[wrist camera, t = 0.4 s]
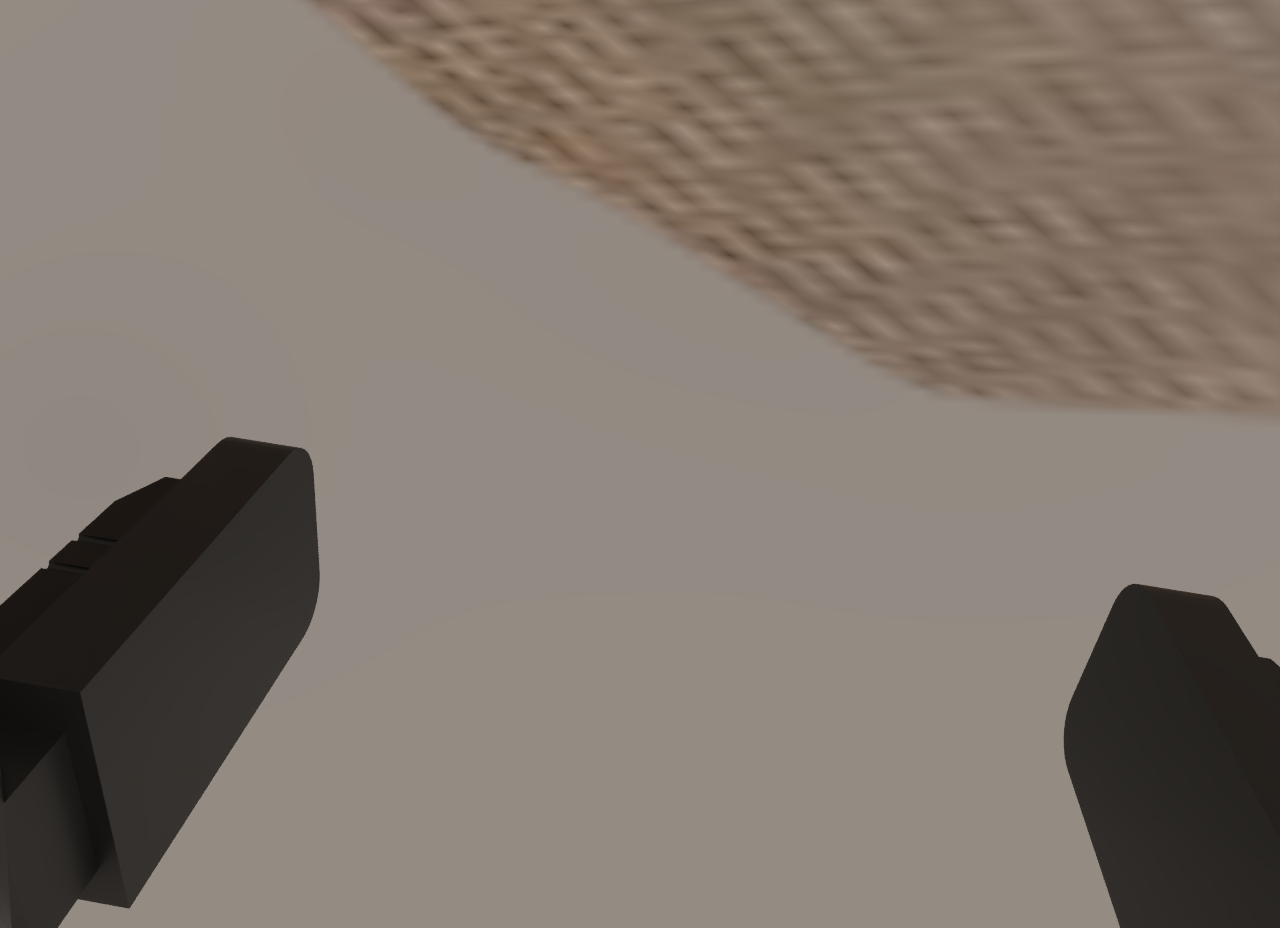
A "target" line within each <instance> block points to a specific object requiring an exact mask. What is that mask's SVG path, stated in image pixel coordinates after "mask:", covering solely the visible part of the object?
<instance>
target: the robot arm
mask: <svg viewBox="0 0 1280 928" xmlns="http://www.w3.org/2000/svg"><path fill="white" fill-rule="evenodd" d="M319 576H320V572H319V555H318V540H317V522H316V506H315V490H314V474H313V465H312V461H311V459H310V456H309V454H308V452H307V451H305V449H302V448H297V447H291V446H285V445H278V444H272V443H266V442H260V441H253V440H247V439H241V438H235V437H227V438H225V439H223V440H221V441H220V442H219V443H218V444H217V445H216V446H214V447H213V448H212V449H211V450H210V451H209V452H208V453H207V454H206V455H205V456H204V457H203V458H202V459H201V460H200V461H199V462H198V463H197V464H196V465H195V466H194V467H193V468H192V469H191V470H190V471H189V472H188V473H187V474H186V475H185V476H184V477H183V478H182V479H175V478H169V477H164V478H162V479H160V480H158V481H156V482H154V483H152V484H150V485H148V486H146V487H144V488H141V489H139V490H137V491H135V492H133V493H131V494H129V495H127V496H125V497H123V498H121V499H118V500H116V501H114V502H113V503H112V504H111V505H110V506H109V507H108V508H107V509H106V510H105V511H103V512H102V513H101V514H100V515H99V516H98V517H97V518H96V519H95V520H94V521H92V522H91V523H90V524H89V525H88V526H87V527H86V528H85V529H84V530H83V531H82V532H81V533H79V539H78V541H71V542H69V543H68V544H67V545H66V546H65V547H64V548H63V549H62V550H61V551H60V552H58V553H57V554H56V555H55V556H54V557H53V558H52V559H51V560H50V561H49V566H48V568H47V569H42V568H41V569H40V570H39V571H38V572H37V573H35V575H33V576H32V577H31V578H30V579H29V580H28V581H27V582H26V583H24V584H23V585H22V586H21V587H20V588H19V589H18V590H17V591H16V592H15V593H13V594H12V595H11V596H10V597H9V598H8V599H7V600H6V601H5V602H4V603H3V604H1V605H0V928H58V926H59V925H60V924H61V922H62V921H63V919H64V918H65V916H66V915H67V914H68V912H69V911H70V909H71V908H72V906H73V905H74V903H75V902H76V901H77V899H80V900H86V901H91V902H97V903H102V904H108V905H113V906H119V907H124V908H130V907H131V905H132V904H133V902H134V901H135V899H136V897H137V896H138V894H139V893H140V891H141V890H142V888H143V886H144V885H145V883H146V882H147V880H148V879H149V877H150V876H151V874H152V872H153V871H154V869H155V868H156V866H157V865H158V863H159V862H160V860H161V858H162V857H163V855H164V853H165V852H166V851H167V849H168V847H169V846H170V844H171V843H172V841H173V839H174V838H175V837H176V835H177V833H178V832H179V830H180V829H181V827H182V826H183V824H184V823H185V821H186V819H187V818H188V816H189V815H190V813H191V812H192V810H193V808H194V807H195V805H196V804H197V802H198V800H199V799H200V798H201V796H202V794H203V793H204V791H205V790H206V788H207V787H208V785H209V784H210V782H211V780H212V779H213V777H214V776H215V774H216V773H217V771H218V770H219V768H220V766H221V765H222V763H223V762H224V760H225V759H226V757H227V755H228V754H229V752H230V750H231V749H232V748H233V746H234V744H235V743H236V741H237V740H238V738H239V737H240V735H241V734H242V732H243V730H244V729H245V727H246V726H247V724H248V723H249V721H250V720H251V718H252V716H253V715H254V713H255V712H256V710H257V709H258V707H259V705H260V704H261V702H262V701H263V699H264V698H265V696H266V694H267V693H268V692H269V690H270V688H271V687H272V685H273V684H274V682H275V680H276V679H277V678H278V676H279V674H280V673H281V671H282V670H283V668H284V667H285V665H286V663H287V662H288V660H289V659H290V657H291V656H292V654H293V653H294V651H295V649H296V648H297V646H298V645H299V643H300V642H301V640H302V638H303V637H304V635H305V633H306V631H307V629H308V627H309V625H310V622H311V620H312V617H313V613H314V610H315V606H316V602H317V597H318V591H319V579H320V577H319ZM1064 753H1065V760H1066V765H1067V768H1068V772H1069V775H1070V778H1071V780H1072V784H1073V787H1074V790H1075V793H1076V796H1077V799H1078V802H1079V805H1080V808H1081V811H1082V814H1083V817H1084V820H1085V823H1086V826H1087V829H1088V832H1089V835H1090V838H1091V841H1092V844H1093V847H1094V850H1095V853H1096V856H1097V859H1098V862H1099V865H1100V868H1101V871H1102V874H1103V877H1104V880H1105V883H1106V886H1107V888H1108V892H1109V895H1110V898H1111V901H1112V904H1113V907H1114V910H1115V913H1116V916H1117V919H1118V922H1119V925H1120V928H1280V667H1279V666H1278V665H1277V664H1276V663H1275V662H1274V661H1272V660H1271V659H1268V658H1262V657H1258V655H1257V654H1256V652H1255V650H1254V649H1253V647H1252V646H1251V644H1250V642H1249V641H1248V639H1247V638H1246V636H1245V635H1244V633H1243V632H1242V630H1241V628H1240V627H1239V625H1238V623H1237V622H1236V620H1235V619H1234V617H1233V616H1232V614H1231V613H1230V611H1229V609H1228V608H1227V606H1226V605H1225V604H1224V603H1223V602H1222V601H1221V600H1220V599H1219V598H1216V597H1214V596H1209V595H1202V594H1196V593H1190V592H1183V591H1177V590H1171V589H1164V588H1159V587H1152V586H1145V585H1139V584H1132V585H1129V586H1127V587H1125V588H1124V589H1123V590H1122V591H1121V593H1120V594H1119V595H1118V597H1117V599H1116V600H1115V602H1114V604H1113V606H1112V608H1111V611H1110V613H1109V615H1108V617H1107V620H1106V622H1105V624H1104V627H1103V629H1102V631H1101V634H1100V636H1099V638H1098V640H1097V642H1096V645H1095V647H1094V649H1093V652H1092V654H1091V656H1090V658H1089V660H1088V663H1087V665H1086V667H1085V669H1084V672H1083V674H1082V676H1081V678H1080V681H1079V683H1078V685H1077V688H1076V690H1075V692H1074V694H1073V697H1072V699H1071V701H1070V704H1069V708H1068V711H1067V715H1066V720H1065V728H1064Z"/></svg>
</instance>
